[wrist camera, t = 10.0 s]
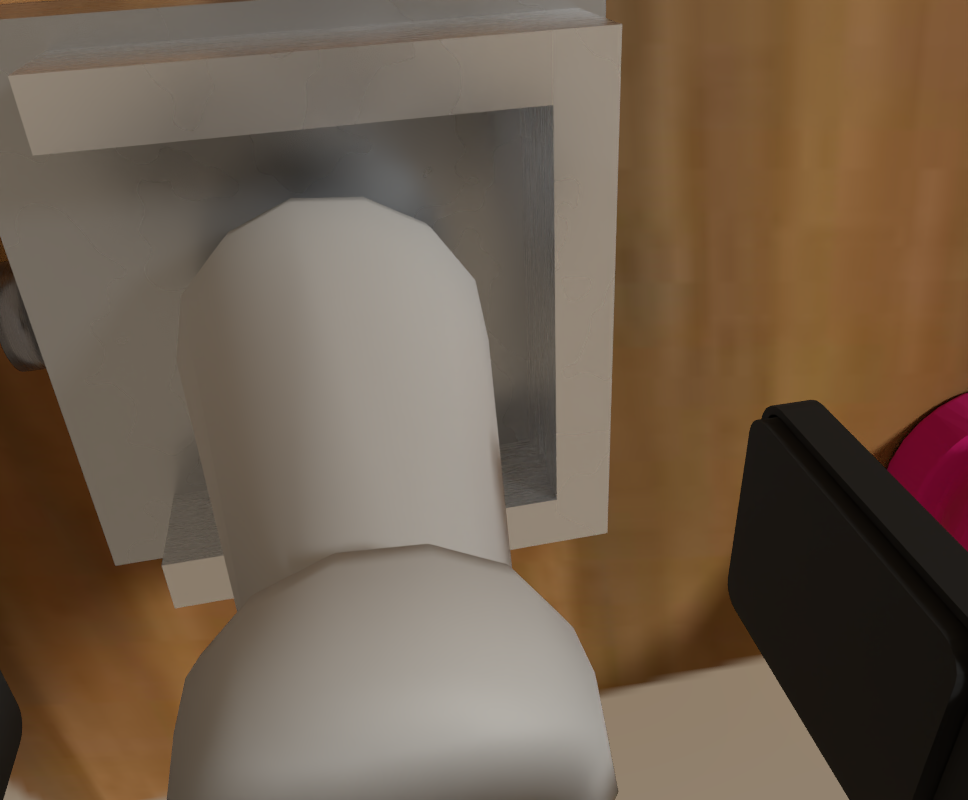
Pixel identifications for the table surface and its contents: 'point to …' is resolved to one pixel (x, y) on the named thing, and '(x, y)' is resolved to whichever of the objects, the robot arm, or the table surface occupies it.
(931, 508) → the pepper mill
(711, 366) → the table surface
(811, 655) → the robot arm
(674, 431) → the table surface
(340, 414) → the salt shaker
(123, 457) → the grey square tray
